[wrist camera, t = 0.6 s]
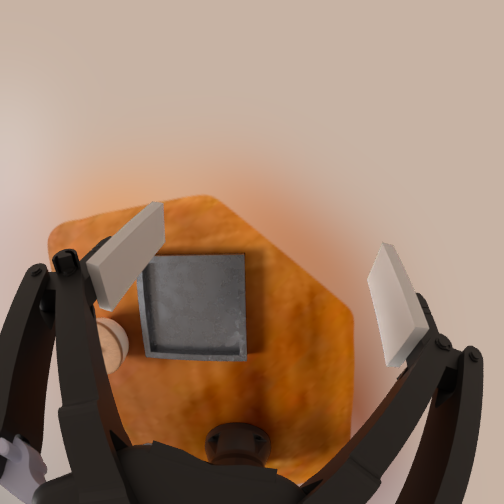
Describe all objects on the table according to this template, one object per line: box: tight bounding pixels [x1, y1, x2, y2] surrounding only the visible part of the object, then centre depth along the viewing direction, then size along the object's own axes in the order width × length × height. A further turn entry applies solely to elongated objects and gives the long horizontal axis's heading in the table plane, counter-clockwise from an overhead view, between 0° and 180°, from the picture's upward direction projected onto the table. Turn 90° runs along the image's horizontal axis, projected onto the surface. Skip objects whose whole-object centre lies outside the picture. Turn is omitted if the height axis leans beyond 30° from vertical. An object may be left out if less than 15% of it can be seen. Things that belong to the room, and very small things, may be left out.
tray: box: [137, 253, 247, 361], centre depth 48 cm, size 19×19×3 cm
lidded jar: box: [96, 317, 129, 374], centre depth 45 cm, size 11×11×9 cm
